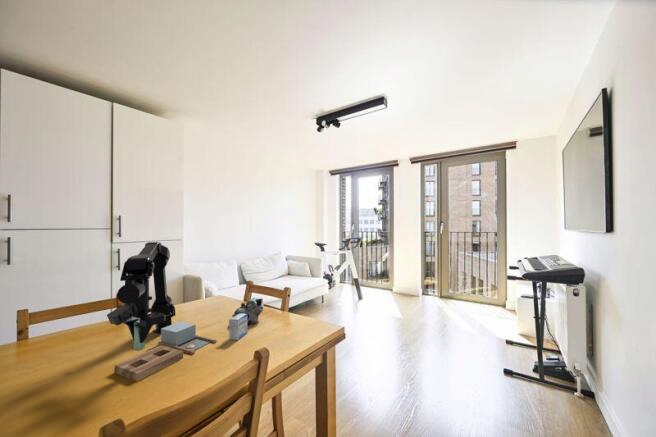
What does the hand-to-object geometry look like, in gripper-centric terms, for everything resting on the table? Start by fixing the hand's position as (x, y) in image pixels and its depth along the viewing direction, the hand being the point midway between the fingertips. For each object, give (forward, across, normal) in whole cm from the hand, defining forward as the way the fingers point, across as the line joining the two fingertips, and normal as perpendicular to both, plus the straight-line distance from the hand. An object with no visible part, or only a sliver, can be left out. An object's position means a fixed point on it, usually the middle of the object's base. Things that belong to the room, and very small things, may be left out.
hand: (138, 341), depth 91 cm
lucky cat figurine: (+10, +2, +51) cm, 52 cm away
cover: (+10, -8, +21) cm, 24 cm away
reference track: (+10, -3, +21) cm, 23 cm away
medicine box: (+10, +11, +35) cm, 38 cm away
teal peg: (+2, 0, 0) cm, 2 cm away
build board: (+10, 0, +4) cm, 10 cm away
